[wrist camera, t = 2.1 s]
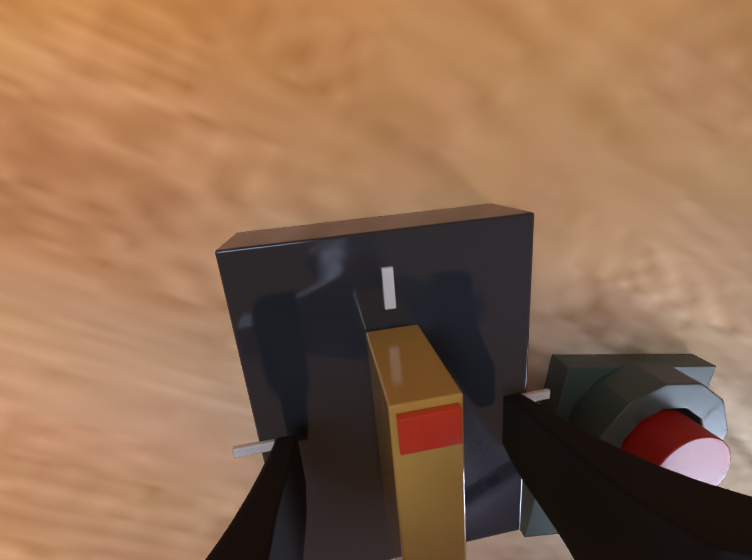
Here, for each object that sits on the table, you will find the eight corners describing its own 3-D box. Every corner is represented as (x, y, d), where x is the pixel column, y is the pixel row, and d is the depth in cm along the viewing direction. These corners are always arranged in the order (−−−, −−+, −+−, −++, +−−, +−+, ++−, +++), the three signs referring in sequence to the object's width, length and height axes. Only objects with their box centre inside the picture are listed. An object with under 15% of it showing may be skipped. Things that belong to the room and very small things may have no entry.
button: (675, 472, 17) (713, 505, 16) (608, 477, 17) (640, 511, 15) (700, 407, 16) (744, 434, 14) (630, 409, 16) (668, 438, 14)
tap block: (505, 472, 19) (540, 529, 16) (277, 520, 18) (270, 592, 15) (512, 201, 15) (562, 209, 12) (210, 235, 13) (180, 255, 10)
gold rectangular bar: (428, 493, 15) (471, 618, 11) (384, 503, 14) (410, 633, 10) (418, 323, 12) (468, 399, 8) (365, 331, 12) (390, 414, 8)
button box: (636, 505, 22) (685, 557, 19) (512, 516, 20) (544, 574, 17) (694, 349, 19) (762, 382, 16) (553, 349, 17) (600, 385, 14)
